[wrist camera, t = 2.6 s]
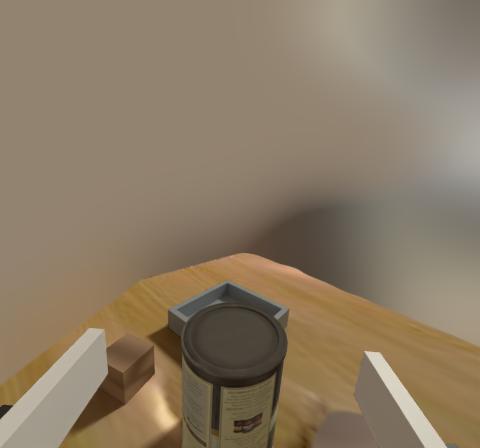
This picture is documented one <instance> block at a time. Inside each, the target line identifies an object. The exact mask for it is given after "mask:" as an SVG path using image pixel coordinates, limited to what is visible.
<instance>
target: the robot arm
mask: <svg viewBox="0 0 480 448" xmlns="http://www.w3.org/2000/svg"><path fill="white" fill-rule="evenodd" d="M107 374H108V366H107V354H106V342H105V330H104V329H95V328H89V329H88V330H87V331H86V332H85V333H84V334H83V335H82V336H81V337H80V338H79V339H78V340H77V341H76V342H75V343H74V345H73V346H72V347H71V348H70V349H69V350H68V351H67V352H66V353H65V354H64V355H63V356H62V357H61V358H60V359H59V360H58V361H57V362H56V363H55V364H54V365H53V366H52V367H51V368H50V369H49V370H48V371H47V372H46V373H45V374H44V375H43V376H42V377H41V378H40V379H39V380H38V381H37V382H36V383H35V384H34V385H33V387H32V388H31V389H30V390H29V391H28V392H27V393H26V394H25V395H24V396H23V397H22V398H21V399H20V400H19V401H18V402H17V403H16V404H15V405H14V406H12V405H2V406H1V407H0V448H58V447H59V446H60V444H61V443H62V441H63V440H64V438H65V437H66V435H67V434H68V432H69V431H70V429H71V428H72V426H73V425H74V423H75V422H76V420H77V419H78V417H79V416H80V414H81V413H82V411H83V410H84V408H85V407H86V405H87V404H88V402H89V401H90V400H91V398H92V397H93V395H94V394H95V392H96V391H97V389H98V388H99V386H100V385H101V383H102V382H103V380H104V379H105V377H106V376H107ZM354 396H355V399H356V401H357V403H358V405H359V407H360V409H361V411H362V414H363V416H364V418H365V420H366V422H367V424H368V427H369V429H370V431H371V433H372V435H373V437H374V439H375V441H376V444H377V446H378V448H459V447H458V446H457V445H456V444H445V443H443V441H442V440H441V438H440V437H439V436H438V434H437V433H436V431H435V430H434V428H433V427H432V426H431V424H430V423H429V421H428V420H427V419H426V417H425V416H424V414H423V413H422V412H421V410H420V409H419V407H418V406H417V404H416V403H415V402H414V400H413V399H412V397H411V396H410V395H409V393H408V392H407V390H406V389H405V388H404V386H403V385H402V383H401V382H400V380H399V379H398V378H397V376H396V375H395V373H394V372H393V371H392V369H391V368H390V366H389V365H388V364H387V362H386V361H385V359H384V358H383V356H382V355H381V354H380V353H378V352H366V351H364V355H363V359H362V363H361V367H360V371H359V375H358V379H357V383H356V388H355V392H354Z"/></svg>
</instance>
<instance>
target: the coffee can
mask: <svg viewBox="0 0 480 448" xmlns="http://www.w3.org/2000/svg"><path fill="white" fill-rule="evenodd" d="M287 344H288V342H287V336H286V333H285V330H284V328H283V327H282V325H281V324H280V322H279V321H278V320H277V319H276V318H275V317H274V316H272V315H271V314H270V313H268V312H267V311H265V310H263V309H261V308H259V307H256V306H253V305H249V304H244V303H237V302H227V303H218V304H214V305H210V306H208V307H205V308H203V309H201V310H199V311H198V312H196V313H195V314H194V315H192V316H191V317H190V318H189V319H188V321H187V322H186V323H185V325H184V327H183V330H182V333H181V350H182V448H273V439H274V431H275V423H276V416H277V408H278V400H279V393H280V385H281V377H282V370H283V362H284V358H285V356H286V351H287Z"/></svg>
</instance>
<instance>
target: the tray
mask: <svg viewBox="0 0 480 448" xmlns="http://www.w3.org/2000/svg"><path fill="white" fill-rule="evenodd" d="M227 302H237V303H244V304H249V305H253V306H256V307H259V308H261V309H263V310H265V311H267V312H268V313H270V314H271V315H272V316H274V317H275V318H276V319H277V320H278V321H279V322H280V324H281V325H282V327H283V328H285V327H286V326H287V322H288V314H289V308H287V307H284V306H282V305H280V304H278V303H276V302H274V301H272V300H269V299H267V298H265V297H263V296H261V295H259V294H257V293H255V292H252V291H250V290H248V289H246V288H244V287H242V286H240V285H238V284H235V283H233V282H231V281H229V280H226V281H224V282H222V283H220V284H218V285H216V286H214V287H212V288H210V289H208V290H206V291H204V292H202V293H200V294H198V295H196V296H194V297H192V298H190V299H188V300H186V301H184V302H182V303H180V304H178V305H176V306H174V307H172V308H170V309H168V328H170V329H171V330H172V331H173V332H175V333H176V334H177V335H178V336H180V337H181V333H182V330H183V327H184V325H185V323H186V322H187V321H188V319H189V318H190V317H191V316H192V315H194V314H195V313H196V312H198V311H199V310H201V309H203V308H205V307H208V306H210V305H214V304H218V303H227Z"/></svg>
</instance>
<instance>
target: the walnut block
mask: <svg viewBox="0 0 480 448" xmlns="http://www.w3.org/2000/svg"><path fill="white" fill-rule="evenodd" d="M106 354H107V366H108V374H107V376H106V377H105V379H104V380H103V382H102V383H101V385H100V386H99V389H101V390H103V391H104V392H106V393H107V394H109V395H111V396H112V397H114V398H115V399H117V400H119V401H120V402H122V403H123V404H125V405H126V403H127V402H128V401H129V400H130V399H131V398H132V397H133V396H134V395H135V394H136V393H137V392H138V391H139V390H140V389H141V388H142V387H143V385H144V384H145V383H146V382H147V381H148V380H149V379H150V378H151V377H152V376H153V375H154V374H155V368H154V345H152V344H150V343H148V342H146V341H144V340H142V339H140V338H137V337H135V336H133V335H131V334H129V333H127V334H126V335H124V336H123V337H122V338H120V339H119V340H118V341H116V342H115V343H113V344H112V345H111V346H109V347H108V348H107V349H106Z"/></svg>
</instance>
